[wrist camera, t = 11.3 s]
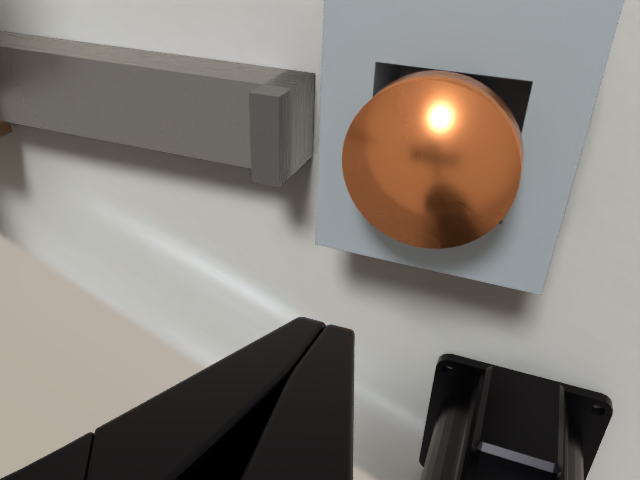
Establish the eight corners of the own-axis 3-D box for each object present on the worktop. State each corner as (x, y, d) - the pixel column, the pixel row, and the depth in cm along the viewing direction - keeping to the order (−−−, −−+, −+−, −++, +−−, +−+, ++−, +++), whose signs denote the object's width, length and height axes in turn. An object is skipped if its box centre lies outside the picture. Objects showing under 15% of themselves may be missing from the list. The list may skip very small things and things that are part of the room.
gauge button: (514, 193, 18) (500, 265, 15) (381, 169, 20) (337, 229, 16) (547, 51, 16) (540, 94, 13) (393, 35, 17) (346, 69, 14)
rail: (312, 155, 21) (279, 187, 19) (-121, 78, 28) (-187, 95, 25) (315, 73, 20) (278, 97, 17) (-144, 11, 26) (-217, 22, 24)
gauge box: (545, 238, 20) (541, 294, 17) (348, 200, 22) (315, 244, 19) (614, -18, 16) (624, -1, 13) (364, -37, 18) (325, -26, 15)
